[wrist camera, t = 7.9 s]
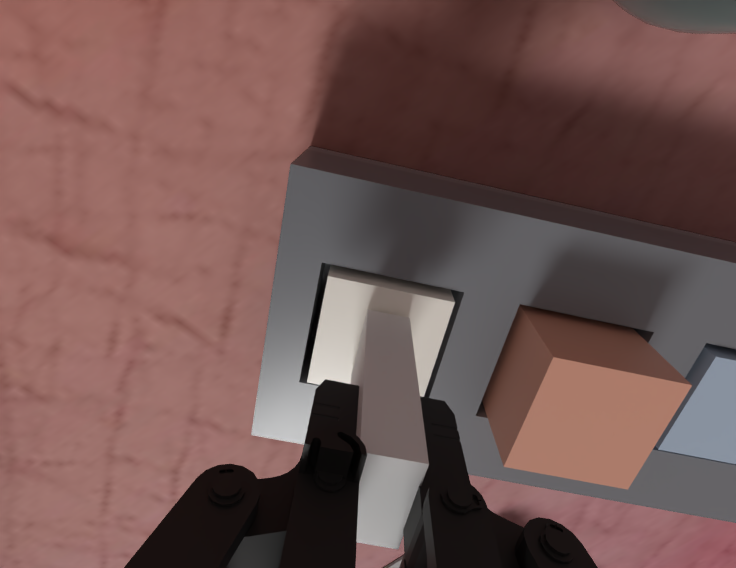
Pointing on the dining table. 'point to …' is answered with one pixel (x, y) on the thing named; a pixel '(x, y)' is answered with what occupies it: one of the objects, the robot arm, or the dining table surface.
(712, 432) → the blue key
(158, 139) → the dining table surface
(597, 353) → the orange key
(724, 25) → the cup
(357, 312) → the ivory key
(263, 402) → the key panel
